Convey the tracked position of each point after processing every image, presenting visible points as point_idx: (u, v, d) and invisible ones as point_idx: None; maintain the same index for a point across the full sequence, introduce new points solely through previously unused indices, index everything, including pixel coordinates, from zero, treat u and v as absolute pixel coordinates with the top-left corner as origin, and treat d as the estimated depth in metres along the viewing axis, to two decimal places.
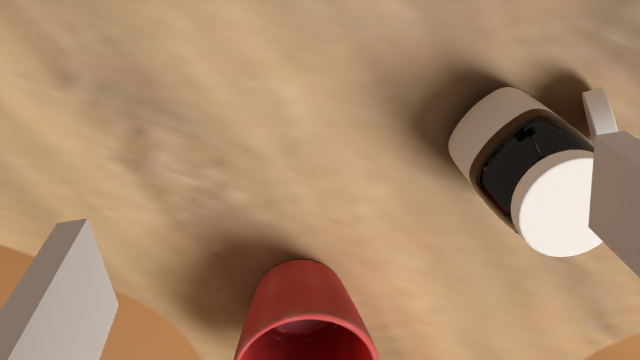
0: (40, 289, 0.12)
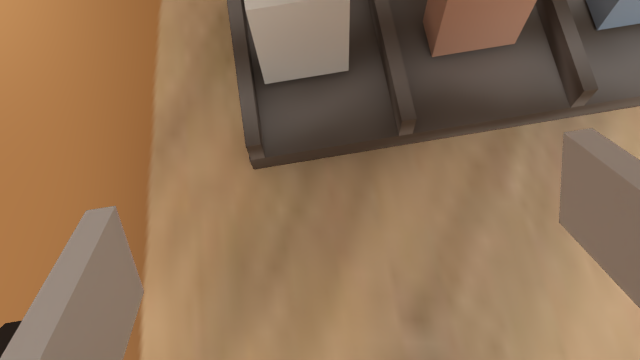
0: (76, 271, 0.12)
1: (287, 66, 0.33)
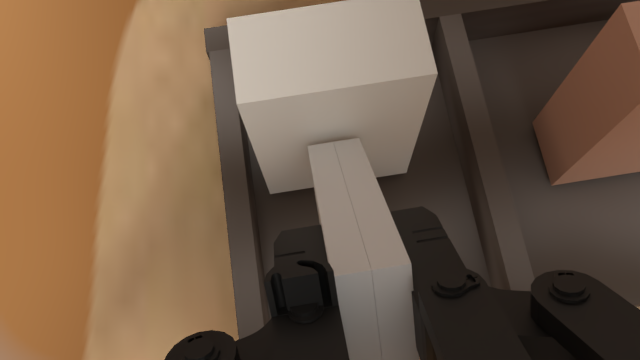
0: (339, 186, 0.14)
1: (308, 173, 0.19)
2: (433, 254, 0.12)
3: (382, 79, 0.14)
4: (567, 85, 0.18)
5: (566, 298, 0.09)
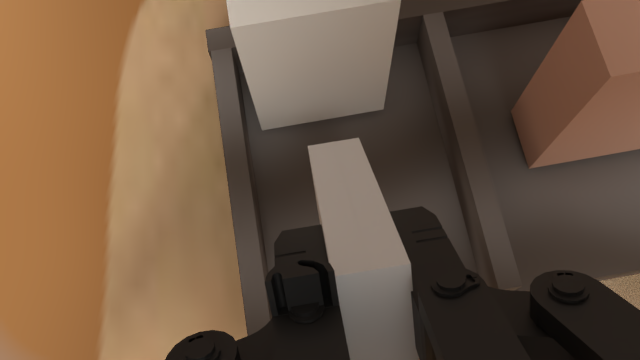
0: (340, 186, 0.14)
1: (295, 106, 0.22)
2: (432, 254, 0.12)
3: (353, 5, 0.17)
4: (539, 75, 0.20)
5: (566, 298, 0.09)
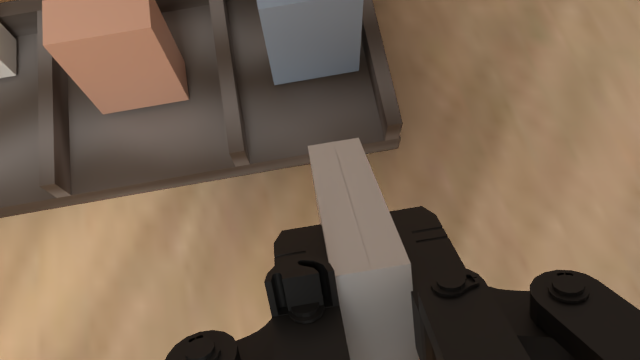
0: (340, 186, 0.14)
1: None
2: (433, 254, 0.12)
3: None
4: None
5: (566, 298, 0.09)
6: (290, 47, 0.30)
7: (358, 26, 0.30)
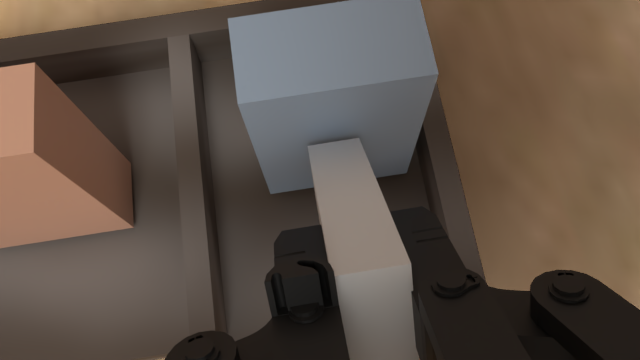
0: (339, 186, 0.14)
1: None
2: (433, 254, 0.12)
3: None
4: None
5: (566, 299, 0.09)
6: (297, 150, 0.18)
7: (417, 121, 0.17)
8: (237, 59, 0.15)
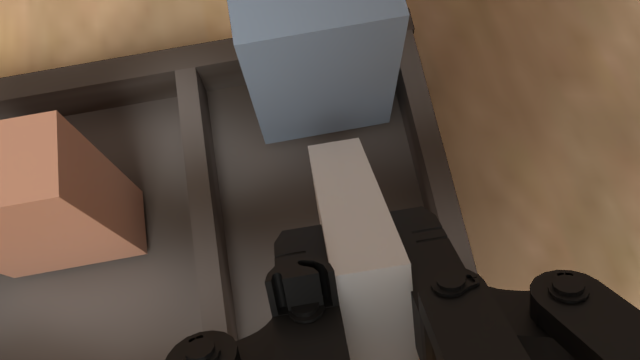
0: (340, 186, 0.14)
1: None
2: (433, 254, 0.12)
3: None
4: None
5: (566, 298, 0.09)
6: (288, 96, 0.20)
7: (395, 65, 0.19)
8: (232, 7, 0.17)
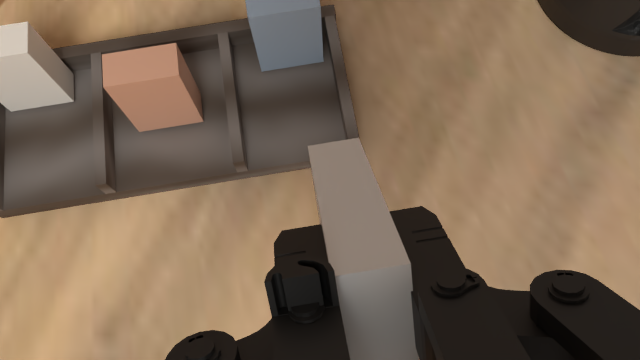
0: (340, 186, 0.14)
1: (19, 99, 0.44)
2: (432, 254, 0.12)
3: (7, 55, 0.39)
4: None
5: (565, 298, 0.09)
6: (271, 43, 0.43)
7: (319, 29, 0.42)
8: (247, 2, 0.40)
